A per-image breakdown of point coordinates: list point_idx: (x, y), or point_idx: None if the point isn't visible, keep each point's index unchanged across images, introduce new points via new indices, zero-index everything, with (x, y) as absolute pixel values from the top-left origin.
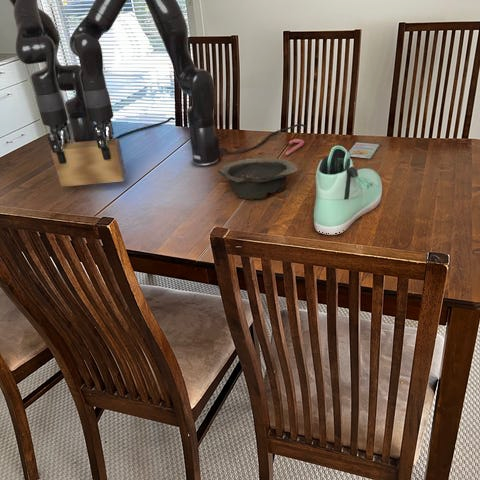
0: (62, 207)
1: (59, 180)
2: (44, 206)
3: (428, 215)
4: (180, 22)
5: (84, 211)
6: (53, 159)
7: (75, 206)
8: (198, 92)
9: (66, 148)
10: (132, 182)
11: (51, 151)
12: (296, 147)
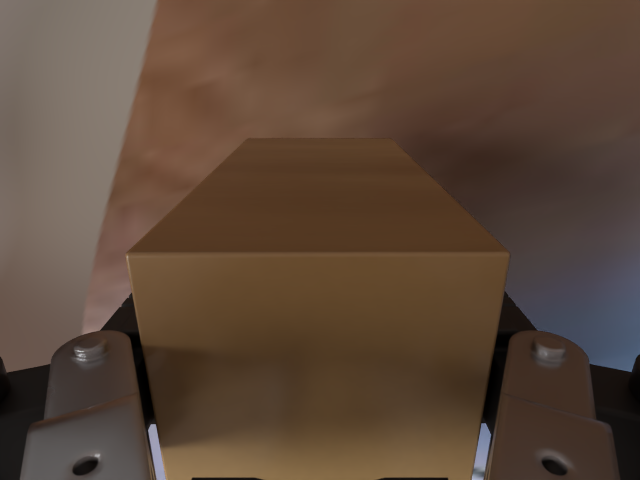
0: (152, 138)
1: (237, 148)
2: (172, 4)
3: None
4: None
5: (100, 274)
6: (178, 206)
7: (161, 213)
8: None
9: (212, 471)
10: None
11: (128, 261)
12: None
